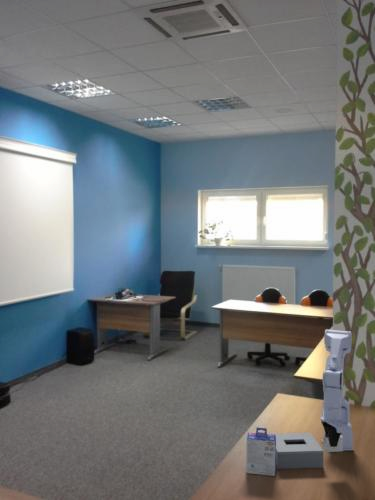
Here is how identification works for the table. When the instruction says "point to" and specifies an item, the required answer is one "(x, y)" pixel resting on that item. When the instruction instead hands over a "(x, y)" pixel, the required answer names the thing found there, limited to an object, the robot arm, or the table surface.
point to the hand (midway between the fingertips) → (331, 444)
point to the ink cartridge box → (261, 453)
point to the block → (328, 448)
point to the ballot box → (298, 451)
